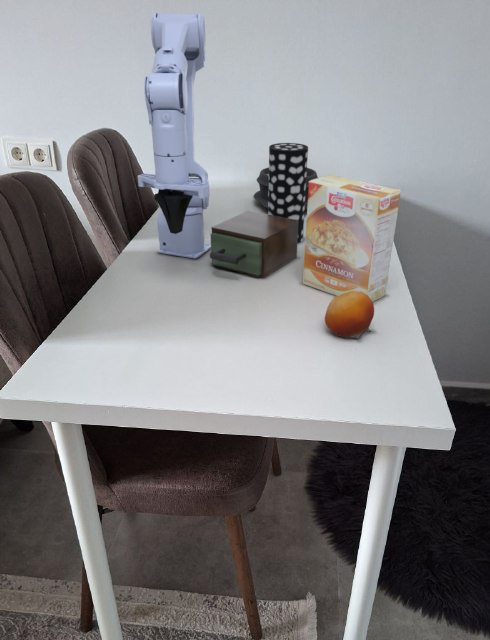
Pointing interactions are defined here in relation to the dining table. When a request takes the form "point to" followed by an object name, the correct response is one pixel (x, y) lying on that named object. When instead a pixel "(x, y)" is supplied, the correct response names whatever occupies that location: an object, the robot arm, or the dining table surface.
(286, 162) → the spotted tube
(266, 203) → the casserole
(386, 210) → the coffeecake box
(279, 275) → the dining table surface
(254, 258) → the drawer
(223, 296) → the dining table surface
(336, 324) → the fruit
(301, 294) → the dining table surface
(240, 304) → the dining table surface
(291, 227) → the cabinet
